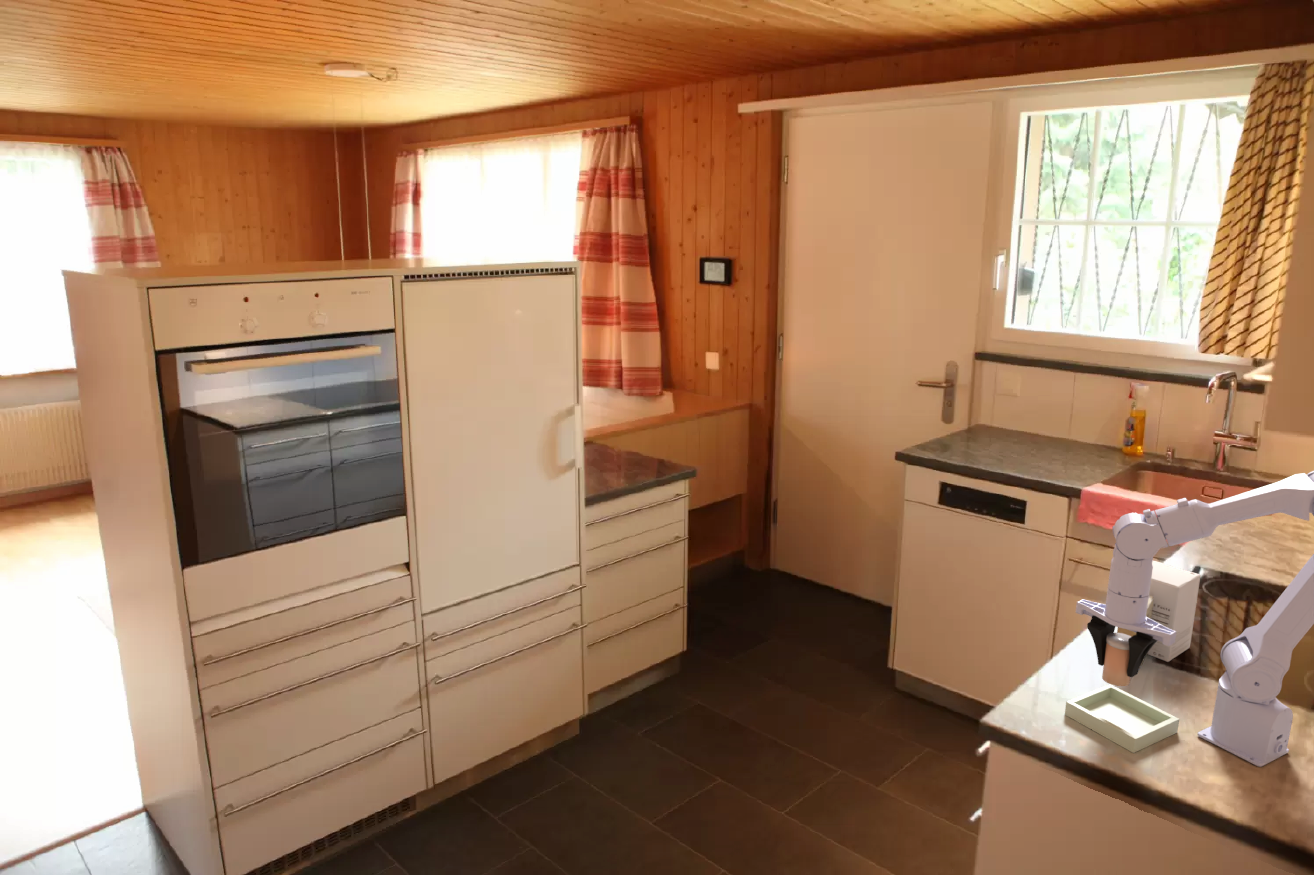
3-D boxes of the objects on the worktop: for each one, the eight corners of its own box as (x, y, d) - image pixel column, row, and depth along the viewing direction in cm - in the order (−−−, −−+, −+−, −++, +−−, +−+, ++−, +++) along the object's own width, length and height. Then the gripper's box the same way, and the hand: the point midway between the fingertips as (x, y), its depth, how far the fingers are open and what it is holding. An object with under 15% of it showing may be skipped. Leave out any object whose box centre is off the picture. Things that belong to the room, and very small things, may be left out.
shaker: (1135, 680, 142) (1141, 639, 140) (1122, 689, 139) (1128, 647, 137) (1109, 670, 145) (1114, 630, 143) (1096, 678, 142) (1101, 637, 141)
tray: (1177, 732, 140) (1179, 718, 139) (1133, 752, 135) (1135, 739, 134) (1107, 696, 150) (1109, 683, 150) (1064, 714, 145) (1066, 701, 144)
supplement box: (1142, 630, 173) (1152, 558, 169) (1190, 648, 166) (1202, 574, 162) (1118, 644, 168) (1128, 570, 164) (1167, 663, 161) (1179, 586, 157)
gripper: (1189, 598, 135) (1177, 679, 138) (1095, 569, 146) (1085, 644, 150) (1168, 611, 131) (1156, 694, 134) (1072, 580, 142) (1063, 657, 145)
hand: (1117, 668), depth 142 cm, fingers closed on shaker, 4 cm apart
